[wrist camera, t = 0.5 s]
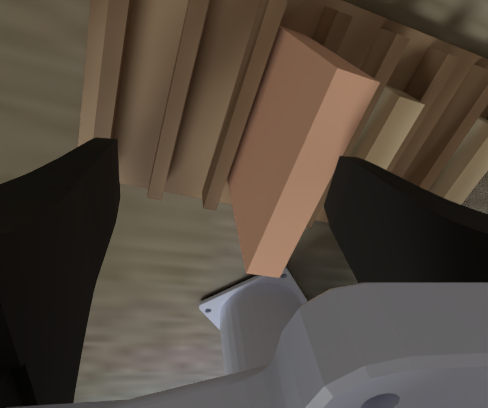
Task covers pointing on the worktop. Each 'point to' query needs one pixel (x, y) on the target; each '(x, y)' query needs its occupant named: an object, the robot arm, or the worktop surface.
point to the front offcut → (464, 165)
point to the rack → (254, 85)
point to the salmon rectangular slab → (292, 145)
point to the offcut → (387, 127)
